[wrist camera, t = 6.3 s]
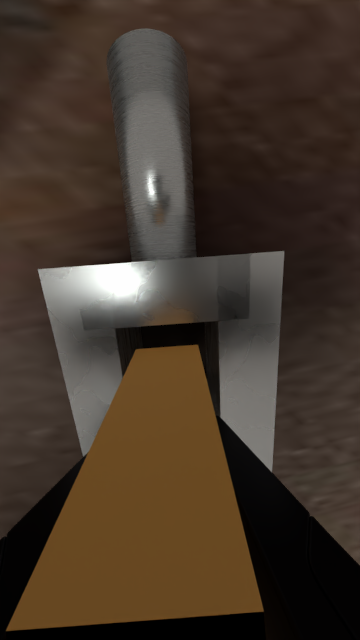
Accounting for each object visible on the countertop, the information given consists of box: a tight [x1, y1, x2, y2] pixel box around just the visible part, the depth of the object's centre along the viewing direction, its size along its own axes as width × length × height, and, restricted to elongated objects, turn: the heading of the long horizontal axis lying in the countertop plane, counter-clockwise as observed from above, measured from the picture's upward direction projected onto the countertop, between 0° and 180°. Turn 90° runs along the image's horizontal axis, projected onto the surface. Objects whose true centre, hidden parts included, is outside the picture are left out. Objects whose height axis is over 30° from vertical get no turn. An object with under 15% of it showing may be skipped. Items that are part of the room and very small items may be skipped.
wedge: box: [6, 345, 266, 640], centre depth 5 cm, size 4×2×8 cm, turn 4°
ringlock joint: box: [38, 29, 284, 472], centre depth 11 cm, size 26×9×6 cm, turn 4°
